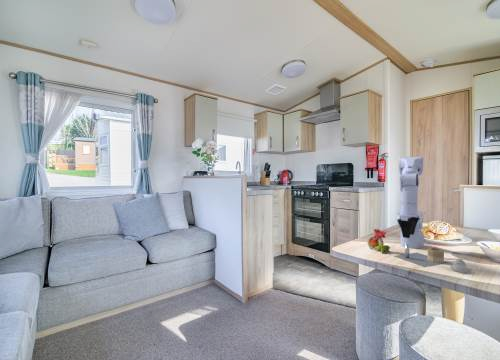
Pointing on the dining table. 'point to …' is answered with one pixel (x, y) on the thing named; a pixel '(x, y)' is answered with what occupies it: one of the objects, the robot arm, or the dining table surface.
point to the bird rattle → (374, 242)
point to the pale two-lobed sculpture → (460, 266)
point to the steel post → (406, 250)
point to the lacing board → (419, 259)
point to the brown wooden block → (435, 255)
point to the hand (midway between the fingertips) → (408, 235)
